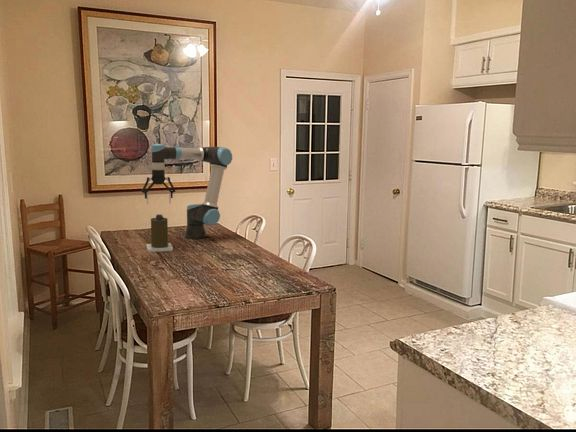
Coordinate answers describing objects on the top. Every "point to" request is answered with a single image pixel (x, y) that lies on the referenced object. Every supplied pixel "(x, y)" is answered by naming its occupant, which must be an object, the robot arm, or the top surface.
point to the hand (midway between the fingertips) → (158, 203)
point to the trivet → (151, 249)
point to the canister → (159, 232)
